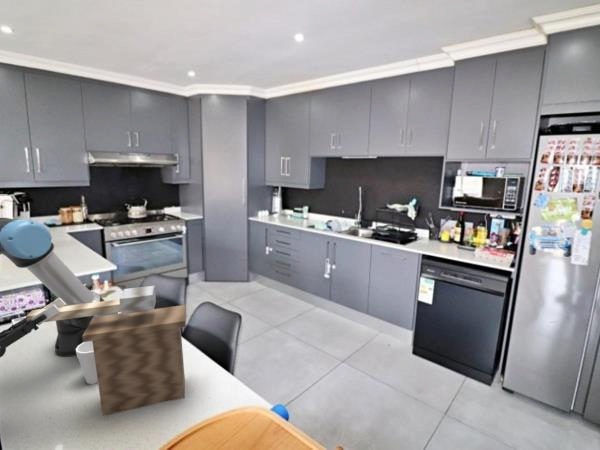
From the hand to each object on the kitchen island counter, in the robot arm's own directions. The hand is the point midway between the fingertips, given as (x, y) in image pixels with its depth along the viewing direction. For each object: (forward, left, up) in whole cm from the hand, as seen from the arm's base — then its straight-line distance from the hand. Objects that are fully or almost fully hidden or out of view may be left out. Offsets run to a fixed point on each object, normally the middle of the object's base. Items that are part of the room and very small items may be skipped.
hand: (59, 304), depth 96 cm
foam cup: (-16, -1, -36) cm, 40 cm away
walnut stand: (-4, +20, -36) cm, 41 cm away
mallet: (-2, +9, -4) cm, 10 cm away
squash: (-78, -40, -36) cm, 95 cm away
